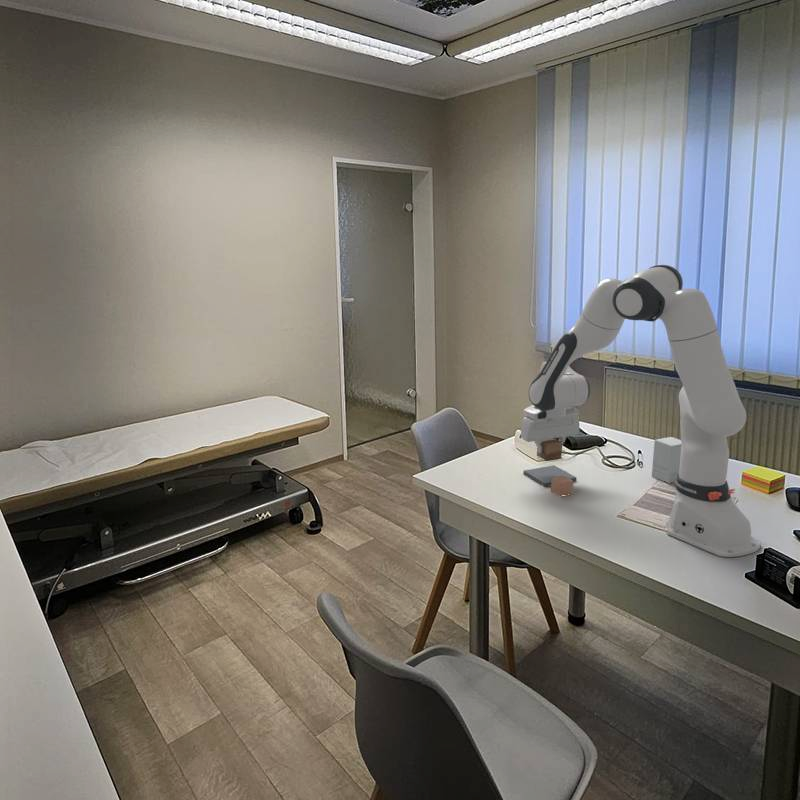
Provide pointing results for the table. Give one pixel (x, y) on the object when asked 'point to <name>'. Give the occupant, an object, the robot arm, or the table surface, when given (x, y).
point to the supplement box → (666, 459)
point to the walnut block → (551, 449)
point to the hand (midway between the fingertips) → (549, 450)
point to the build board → (547, 474)
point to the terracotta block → (562, 485)
